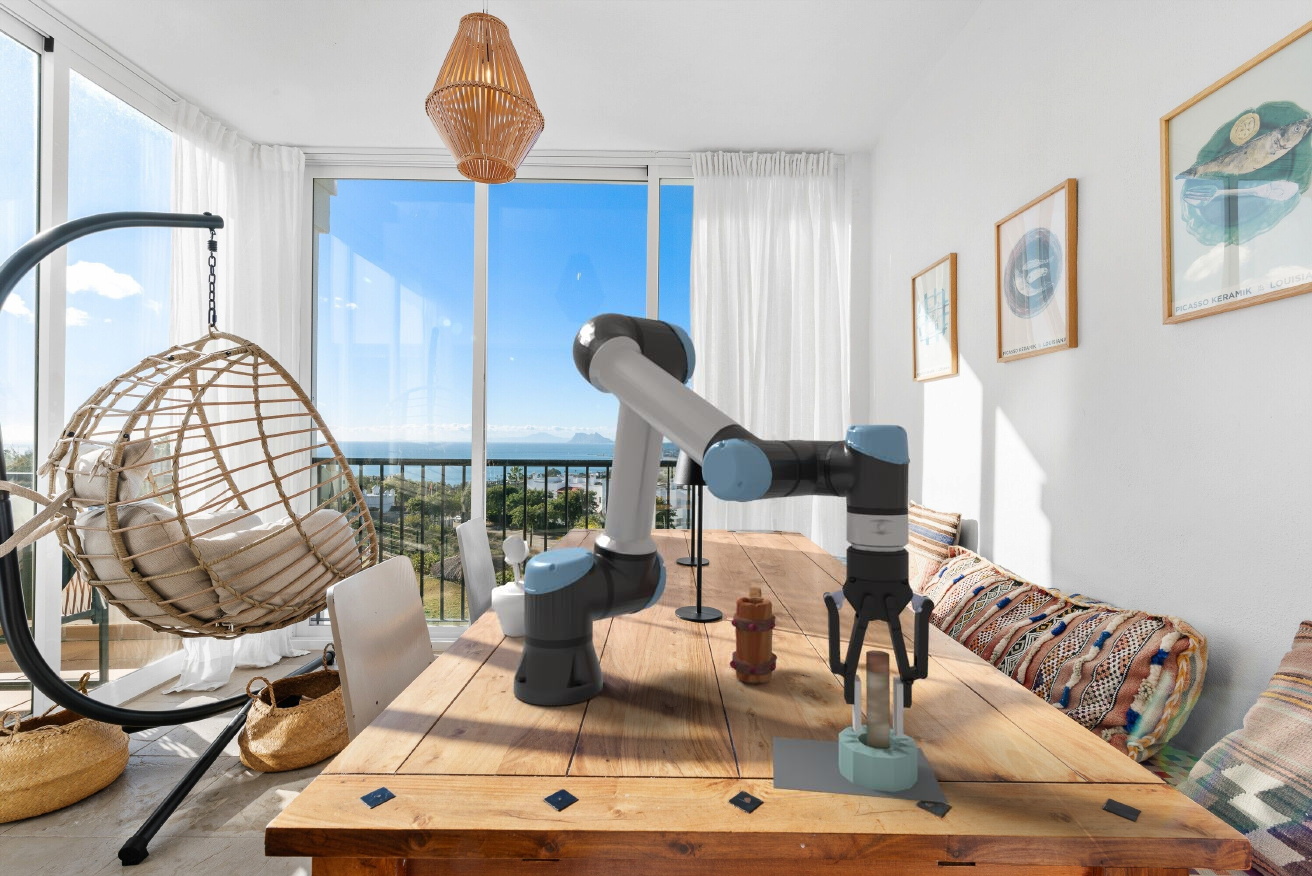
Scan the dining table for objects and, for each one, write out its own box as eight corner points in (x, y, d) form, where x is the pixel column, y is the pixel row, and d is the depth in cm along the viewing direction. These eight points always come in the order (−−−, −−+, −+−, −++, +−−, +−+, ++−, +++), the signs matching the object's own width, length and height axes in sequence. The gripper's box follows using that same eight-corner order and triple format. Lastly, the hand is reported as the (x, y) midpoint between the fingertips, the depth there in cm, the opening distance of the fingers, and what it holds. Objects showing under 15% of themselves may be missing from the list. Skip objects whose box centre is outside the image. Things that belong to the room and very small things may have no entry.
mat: (773, 792, 80) (773, 787, 80) (772, 741, 94) (772, 737, 94) (948, 807, 77) (948, 802, 77) (920, 752, 91) (920, 748, 91)
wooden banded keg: (776, 691, 113) (776, 602, 114) (728, 687, 115) (728, 600, 115) (778, 663, 128) (778, 584, 128) (735, 660, 129) (735, 582, 129)
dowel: (867, 776, 83) (867, 656, 83) (865, 766, 86) (865, 649, 86) (891, 779, 82) (890, 658, 83) (888, 768, 85) (888, 651, 85)
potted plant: (534, 642, 141) (535, 524, 141) (482, 639, 142) (483, 523, 143) (553, 626, 153) (553, 517, 153) (505, 623, 155) (505, 516, 155)
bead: (843, 787, 80) (843, 754, 80) (835, 752, 90) (835, 723, 90) (923, 794, 79) (923, 760, 79) (907, 758, 88) (907, 727, 88)
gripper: (808, 549, 82) (808, 738, 82) (958, 553, 79) (958, 749, 79) (805, 540, 90) (805, 714, 89) (941, 543, 87) (942, 723, 87)
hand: (877, 730), depth 84 cm, fingers open, 4 cm apart
